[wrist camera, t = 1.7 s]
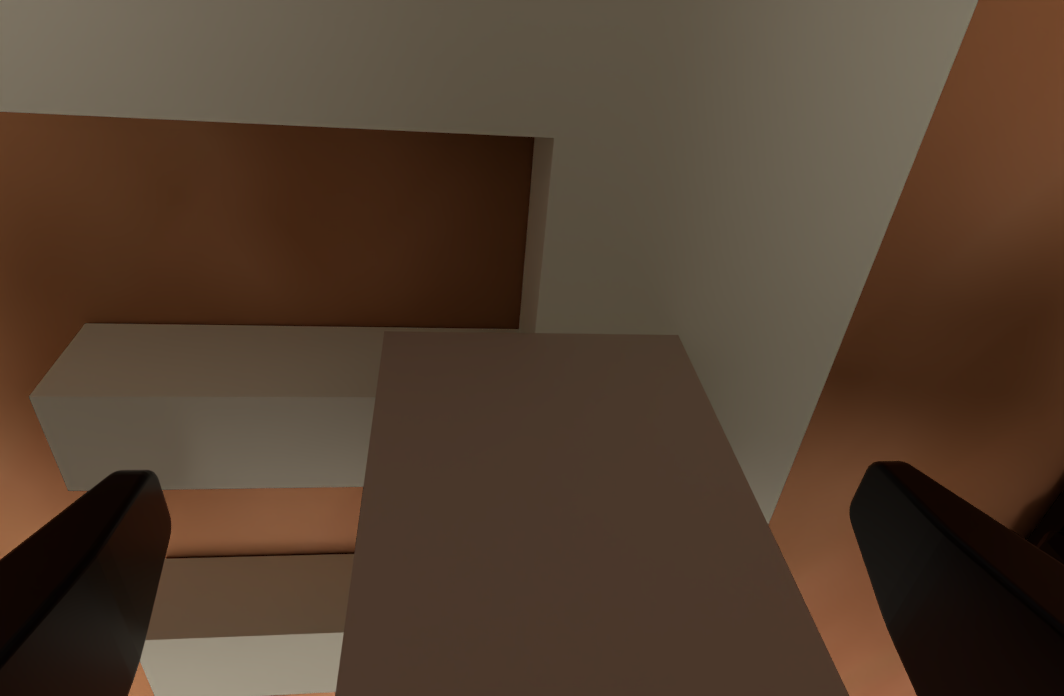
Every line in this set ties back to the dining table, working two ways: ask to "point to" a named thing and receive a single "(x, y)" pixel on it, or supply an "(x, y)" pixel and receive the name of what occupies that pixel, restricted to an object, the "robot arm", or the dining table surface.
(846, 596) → the dining table surface
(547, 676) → the two-prong bracket
